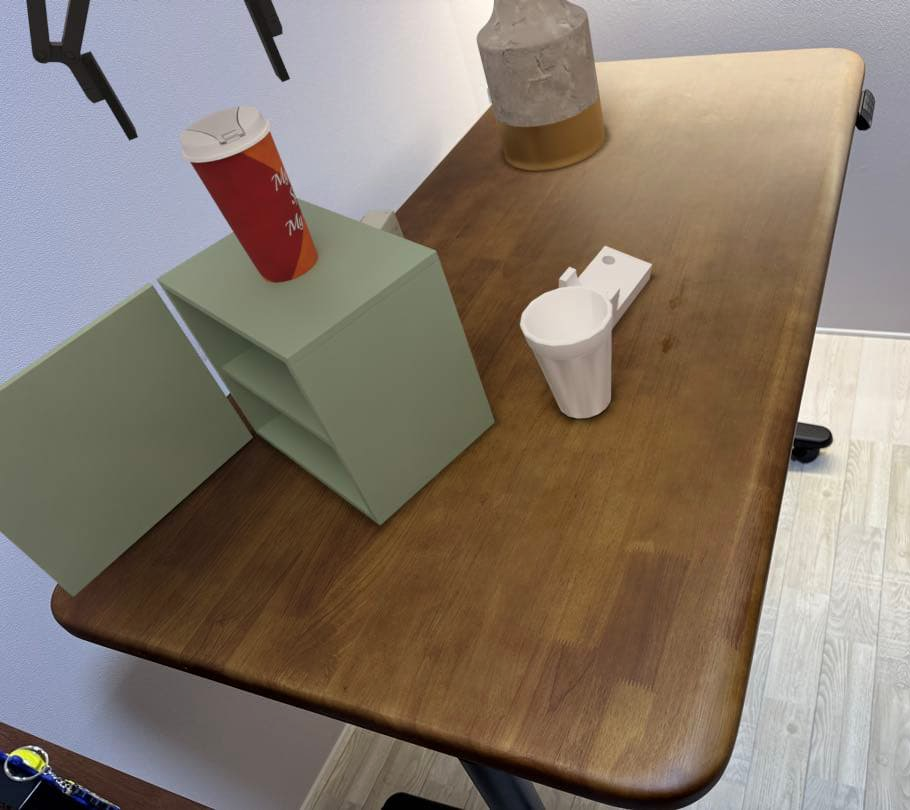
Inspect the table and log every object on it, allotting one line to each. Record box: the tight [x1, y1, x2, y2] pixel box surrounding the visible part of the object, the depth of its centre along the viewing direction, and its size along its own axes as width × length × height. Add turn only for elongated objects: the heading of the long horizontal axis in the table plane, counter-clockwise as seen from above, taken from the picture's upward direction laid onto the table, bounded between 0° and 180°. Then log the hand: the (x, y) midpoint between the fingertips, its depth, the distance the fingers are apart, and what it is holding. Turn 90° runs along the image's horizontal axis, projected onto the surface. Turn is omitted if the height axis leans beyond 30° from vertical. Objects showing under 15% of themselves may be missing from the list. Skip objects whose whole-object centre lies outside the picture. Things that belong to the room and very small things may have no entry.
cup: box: [519, 286, 613, 419], centre depth 86 cm, size 10×10×13 cm
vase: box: [476, 0, 607, 172], centre depth 130 cm, size 18×18×30 cm
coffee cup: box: [179, 105, 318, 283], centre depth 74 cm, size 8×8×15 cm
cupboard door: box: [0, 283, 254, 598], centre depth 85 cm, size 7×26×24 cm, turn 145°
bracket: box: [558, 245, 653, 330], centre depth 101 cm, size 13×7×8 cm, turn 149°
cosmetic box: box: [359, 209, 405, 239], centre depth 111 cm, size 6×4×12 cm
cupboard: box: [156, 197, 496, 526], centre depth 87 cm, size 18×26×24 cm
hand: (209, 105), depth 67 cm, fingers open, 13 cm apart
